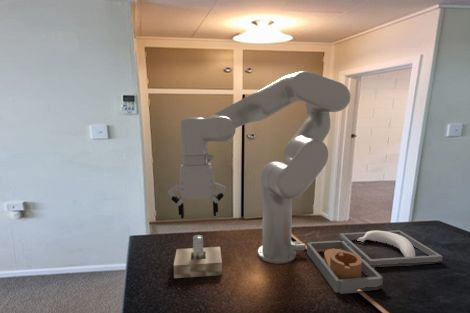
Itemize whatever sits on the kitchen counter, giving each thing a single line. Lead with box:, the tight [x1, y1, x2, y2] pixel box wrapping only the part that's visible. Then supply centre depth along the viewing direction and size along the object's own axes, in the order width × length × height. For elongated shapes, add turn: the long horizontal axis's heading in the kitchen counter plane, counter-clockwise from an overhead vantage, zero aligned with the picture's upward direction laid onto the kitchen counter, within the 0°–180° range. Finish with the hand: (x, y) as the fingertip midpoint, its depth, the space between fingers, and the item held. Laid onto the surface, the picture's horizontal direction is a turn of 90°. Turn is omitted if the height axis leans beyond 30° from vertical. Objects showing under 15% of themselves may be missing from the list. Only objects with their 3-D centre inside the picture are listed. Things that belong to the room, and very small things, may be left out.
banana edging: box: [338, 229, 443, 265], centre depth 98 cm, size 24×20×2 cm
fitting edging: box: [306, 240, 384, 295], centre depth 87 cm, size 13×23×4 cm, turn 6°
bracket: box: [323, 248, 362, 279], centre depth 86 cm, size 18×8×7 cm, turn 172°
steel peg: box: [192, 234, 204, 259], centre depth 88 cm, size 3×3×10 cm
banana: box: [357, 230, 416, 257], centre depth 98 cm, size 5×19×15 cm
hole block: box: [173, 246, 223, 279], centre depth 89 cm, size 14×10×4 cm
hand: (198, 215), depth 86 cm, fingers open, 9 cm apart
